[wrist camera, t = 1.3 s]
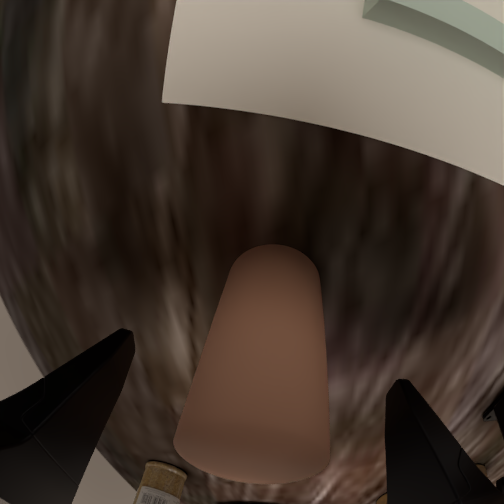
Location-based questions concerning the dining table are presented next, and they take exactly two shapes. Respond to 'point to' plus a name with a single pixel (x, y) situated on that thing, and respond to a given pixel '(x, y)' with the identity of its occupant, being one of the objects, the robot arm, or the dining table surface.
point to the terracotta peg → (262, 375)
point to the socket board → (353, 69)
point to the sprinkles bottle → (160, 484)
